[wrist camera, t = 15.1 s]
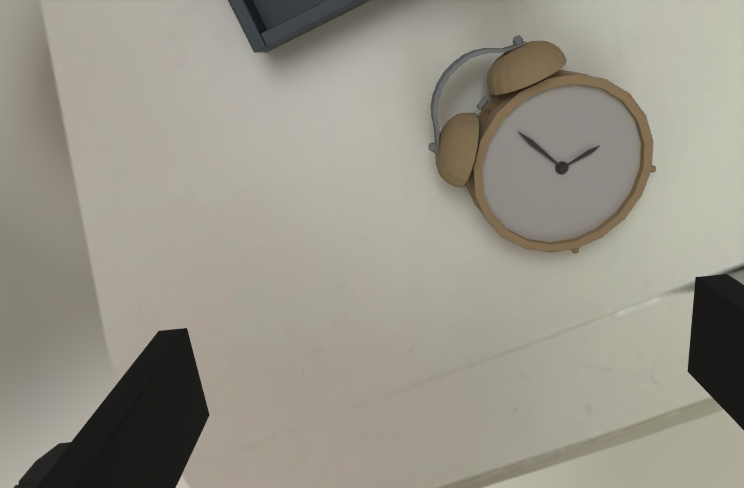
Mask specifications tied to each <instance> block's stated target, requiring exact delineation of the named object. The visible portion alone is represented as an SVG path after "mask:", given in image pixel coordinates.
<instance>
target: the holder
mask: <svg viewBox="0 0 744 488" xmlns="http://www.w3.org/2000/svg"><path fill="white" fill-rule="evenodd" d="M228 1H229V3H230V5H231V7H232V9H233V11H234V13H235V15H236V17H237V19H238V21H239V23H240V25H241V27H242V29H243V31H244V33H245V35H246V37H247V39H248V41H249V43H250V45H251V47H252V49H253V51H254V52H268V51H270V50H272V49H274V48H276V47H278V46H280V45H282V44H284V43H286V42H288V41H290V40H292V39H294V38H296V37H298V36H300V35H302V34H304V33H306V32H308V31H310V30H312V29H314V28H316V27H318V26H320V25H322V24H324V23H326V22H328V21H330V20H332V19H334V18H336V17H338V16H340V15H342V14H344V13H346V12H348V11H350V10H352V9H354V8H356V7H358V6H360V5H362V4H364V3H366V2H368V1H370V0H228Z"/></svg>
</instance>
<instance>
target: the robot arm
mask: <svg viewBox="0 0 744 488" xmlns="http://www.w3.org/2000/svg"><path fill="white" fill-rule="evenodd" d="M688 372H689V373H690V374H691V375H692V377H693V378H694V379H695V380H696V381H697V382H698V383H699V384H700V385H701V386H702V387H703V388H704V389H705V390H706V391H707V392H708V393H709V394H710V395H711V396H712V397H713V398H714V400H715V401H716V402H717V403H718V404H719V405H720V406H721V407H722V408H723V409H724V410H725V411H726V412H727V413H728V414H729V415H730V416H731V417H732V418H733V419H734V420H735V421H736V422H737V424H738V425H739V426H740V427H741V428H742V429H743V430H744V285H743V284H741V283H740V282H738V281H737V280H735V279H734V278H732V277H731V276H729V275H728V274H723V275H713V276H703V277H696V279H695V291H694V303H693V315H692V326H691V338H690V350H689V361H688ZM208 417H209V412H208V408H207V404H206V400H205V396H204V392H203V389H202V385H201V381H200V377H199V373H198V369H197V365H196V361H195V358H194V354H193V350H192V346H191V342H190V338H189V334H188V330H187V328H184V329H174V330H164V331H158V333H157V334H156V335H155V336H154V338H153V339H152V340H151V341H150V343H149V344H148V345H147V347H146V348H145V349H144V350H143V352H142V353H141V354H140V355H139V357H138V358H137V359H136V360H135V362H134V363H133V364H132V366H131V367H130V368H129V369H128V371H127V372H126V373H125V374H124V376H123V377H122V378H121V380H120V381H119V382H118V383H117V385H116V386H115V387H114V388H113V390H112V391H111V392H110V394H109V395H108V396H107V397H106V399H105V400H104V401H103V402H102V404H101V405H100V406H99V407H98V409H97V410H96V411H95V413H94V414H93V415H92V417H91V418H90V419H89V420H88V421H87V423H86V424H85V425H84V427H83V428H82V429H81V430H80V432H79V433H78V434H77V435H76V437H75V438H74V439H73V441H72V442H70V443H60V444H58V445H57V446H55V447H54V448H53V449H51V450H50V451H49V452H47V453H46V454H45V455H43V456H42V457H41V458H39V459H38V460H37V461H36V462H35V463H34V464H33V465H32V467H30V469H29V470H28V471H27V472H26V474H25V475H24V476H23V477H22V478H21V479H20V481H19V485H16V486H15V487H14V488H175V487H176V485H177V483H178V481H179V479H180V477H181V475H182V473H183V471H184V468H185V466H186V464H187V462H188V460H189V458H190V456H191V453H192V451H193V449H194V447H195V445H196V443H197V441H198V438H199V436H200V434H201V432H202V430H203V428H204V426H205V423H206V421H207V419H208Z"/></svg>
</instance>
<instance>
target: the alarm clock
mask: <svg viewBox="0 0 744 488" xmlns="http://www.w3.org/2000/svg"><path fill="white" fill-rule="evenodd" d="M501 52H505V53H504V54H502V55H501V56H500V57H499V58H498V59H497V60H496V61H495V62H494V64H493V65H492V67H491V69H490V70H489V73H488V78H487V83H488V89H489V92H490V94H492V95H496V96H495V97H494V98H493V99H491V100H490V101H489V102H488V99H487V98H485V97H484V98H483V99H482V100H481V101H480V103H479V104H478V105H477V107H478V108H479V109H482V108H483V109H482V111H481V113H480V114H479V116H478V117H477V115H476V113H461V114H458V115H455V116H454V117H452V118H451V119H450V120H449V121H448V122H447V123H446V124H445V126H444V127H443V129H442V131H441V133H439V124H438V120H437V106H438V99H439V97H440V94H441V92H442V89H443V87H444V85H445V84H446V82H447V81H448V79H449V77H450V76H451V75H452V74H453V73H454V72H455V71H456V70H457V68H458V67H460V66H461V65H462V64H464V63H465V62H466V61H468V60H469V59H471V58H473V57H476V56H478V55H481V54H486V53H501ZM566 61H567V60H566V58H565V56H564V54H563V52H562V51H561V50H560V49H559V48H558V47H557V46H556V45H554V44H552V43H550V42H546V41H531V42H524V41H523V38H522V37H521V36H520V35H519V36H516V37H514V39H513V45H511V46H508V47H505V48H502V49H498V48H483V49H478V50H473V51H471V52H469V53H466V54H464V55H462V56H461V57H460V58H458V59H457V60H456V61H454V62H453V63H452V64H451V65H450V66H449V67H448V68H447V69H446V70H445V71H444V73H443V74H442V76H441V78H440V79H439V81H438V83H437V85H436V87H435V90H434V92H433V95H432V102H431V116H432V120H433V125H434V135H435V143H434V142H433V143H430V144H429V150H431V151H433V152H434V153H435V154H436V165H437V168H438V172H439V174H440V176H441V177H442V178H443V179H444V180H445V181H446V182H447V183H449V184H451V185H453V186H456V187H460V188H461V187H463V186H464V185H465V183H466V185H467V187H468V189H469V191H470V194H471V196H472V198H473V201H474V203H475V205H476V206H477V207H478V208H479V209H480V210H481V212H482V213H483V215H484V217H485V219H486V220H487V221H488V222H489V223H490V224H491V225H492V226H493V227H494V228H495V229H496V230H497V232H498V233H499V234H500V235H501V236H502V237H504V238H506V239H507V240H509V241H511V242H513V243H515V244H517V245H519V246H521V247H523V248H526V249H533V250H539V251H546V252H555V251H562V250H568V249H572V252H573V253H578V252H579V247H581V246H583V245H585V244H587V243H590V242H592V241H594V240H596V239H599V238H601V237H603V236H604V235H605V234H607V233H608V232H609V231H610V230H611V229H613V228H614V227H615V226H616V225H618V224H619V223H620V222H621V221H623V220H624V219H625V218H626V216H627V215H628V214H629V212H630V211H631V209H632V208H633V207H634V205H635V204H636V203H637V201H638V200H639V199H640V197H641V196H642V193H643V190H644V188H645V185H646V183H647V180H648V177H649V175H650V173H651V172H655V171H656V167H655V166H652V153H653V139H652V135H651V132H650V128H649V125H648V121H647V118H646V115H645V114H644V112H643V111H642V110H641V108H640V107H639V105H638V104H637V103H636V101H635V100H634V99H633V97H632V96H631V95H630V94H629V93H628V92H626V91H624V90H623V89H621V88H620V87H618V86H616V85H615V84H613V83H611V82H610V81H608V80H607V79H602V78H597V77H591V76H588V75H585V74H580V73H575V72H569V71H564V70H559V69H561V68H562V67H563V66H564V65H565V64H566ZM487 102H488V103H487ZM486 103H487V104H486ZM485 104H486V105H485Z"/></svg>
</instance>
